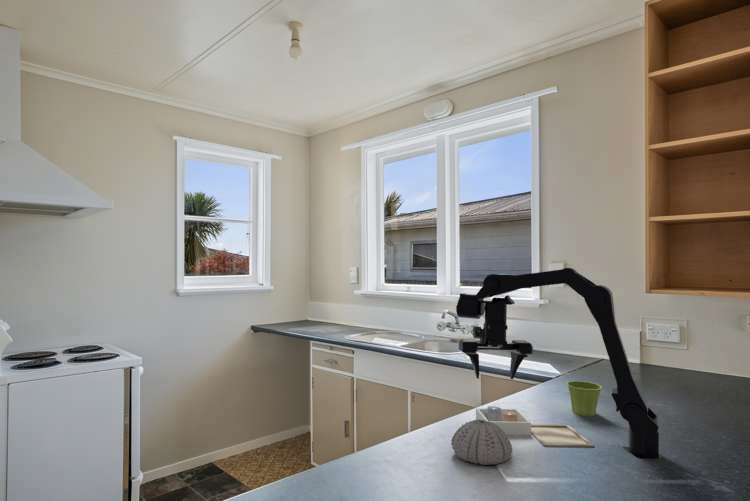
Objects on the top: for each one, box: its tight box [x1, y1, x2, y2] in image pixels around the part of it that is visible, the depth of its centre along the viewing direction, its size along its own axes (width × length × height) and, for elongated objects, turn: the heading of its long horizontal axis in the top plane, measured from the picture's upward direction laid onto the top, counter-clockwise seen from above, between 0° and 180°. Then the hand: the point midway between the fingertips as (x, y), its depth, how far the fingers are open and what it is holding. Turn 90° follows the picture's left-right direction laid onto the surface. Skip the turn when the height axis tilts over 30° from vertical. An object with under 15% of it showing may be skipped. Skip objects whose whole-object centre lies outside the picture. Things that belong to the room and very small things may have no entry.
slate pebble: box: [486, 405, 502, 421], centre depth 126 cm, size 4×4×4 cm
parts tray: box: [531, 423, 595, 448], centre depth 117 cm, size 14×12×1 cm
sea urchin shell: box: [450, 419, 513, 466], centre depth 105 cm, size 13×14×8 cm
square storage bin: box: [475, 407, 532, 436], centre depth 123 cm, size 11×11×4 cm
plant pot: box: [566, 380, 603, 417], centre depth 137 cm, size 9×9×9 cm
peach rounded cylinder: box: [503, 411, 518, 422], centre depth 121 cm, size 4×4×4 cm
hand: (494, 378), depth 126 cm, fingers open, 9 cm apart
